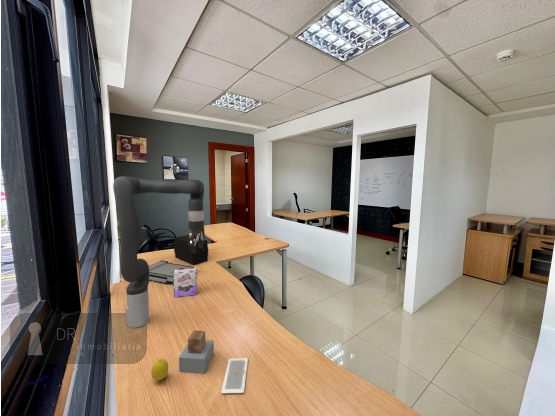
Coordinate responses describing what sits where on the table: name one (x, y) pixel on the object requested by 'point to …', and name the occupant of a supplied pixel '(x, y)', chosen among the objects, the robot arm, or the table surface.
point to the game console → (164, 271)
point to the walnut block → (196, 341)
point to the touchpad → (235, 376)
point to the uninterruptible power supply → (185, 253)
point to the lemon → (159, 369)
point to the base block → (196, 359)
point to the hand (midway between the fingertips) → (197, 250)
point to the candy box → (185, 282)
